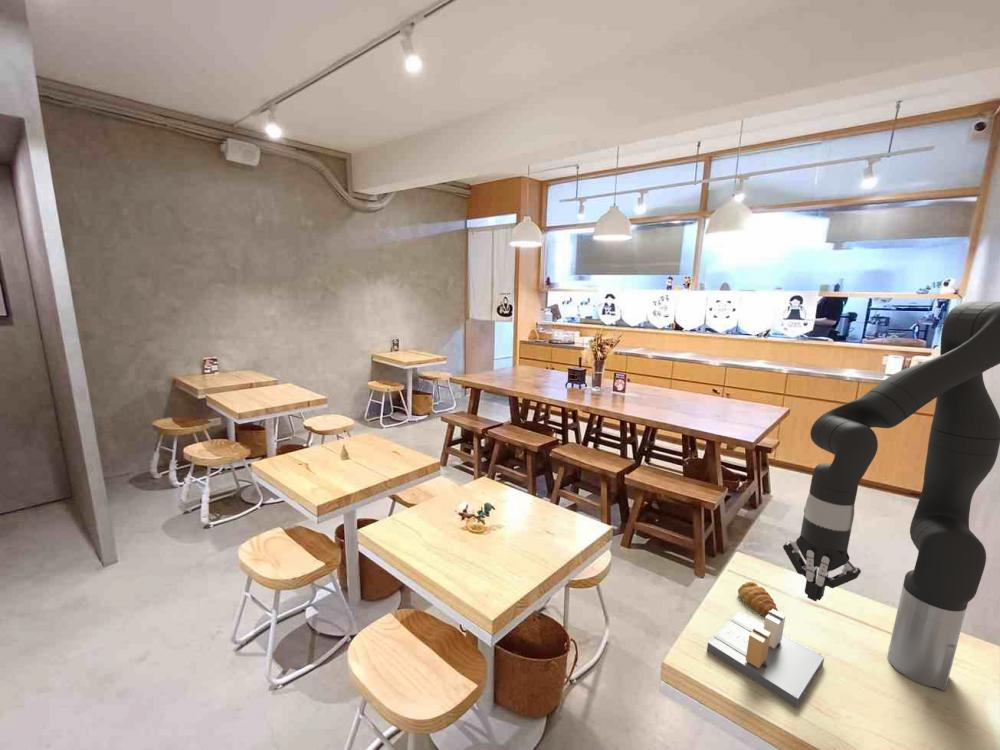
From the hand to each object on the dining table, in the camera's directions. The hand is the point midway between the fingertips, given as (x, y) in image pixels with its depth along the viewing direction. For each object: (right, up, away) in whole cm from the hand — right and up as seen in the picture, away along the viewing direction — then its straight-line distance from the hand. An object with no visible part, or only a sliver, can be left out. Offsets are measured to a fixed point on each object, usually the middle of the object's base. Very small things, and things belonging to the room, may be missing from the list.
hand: (812, 597), depth 89 cm
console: (-7, -15, +6) cm, 18 cm away
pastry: (+2, -13, +22) cm, 26 cm away
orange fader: (-10, -14, +2) cm, 17 cm away
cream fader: (-4, -13, +7) cm, 15 cm away
